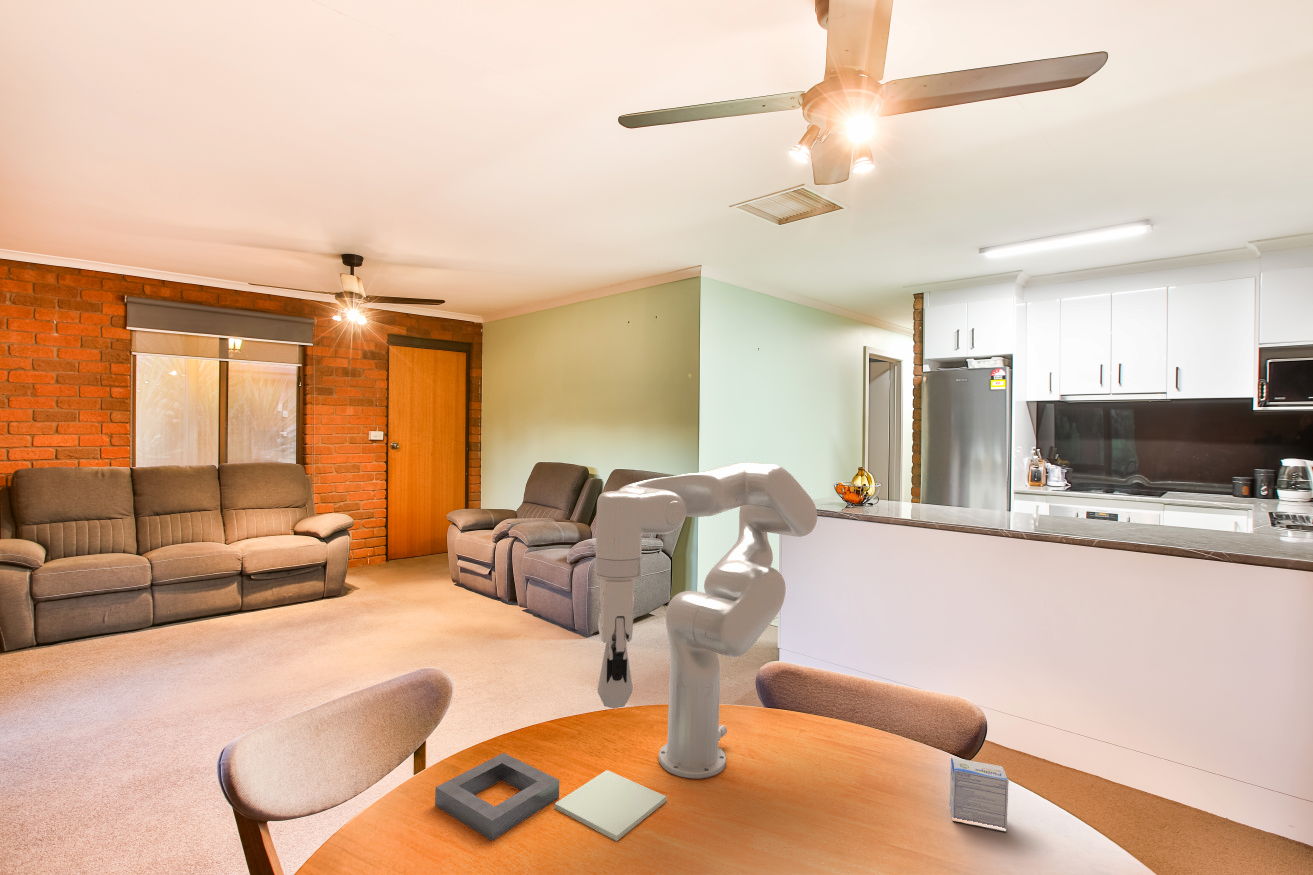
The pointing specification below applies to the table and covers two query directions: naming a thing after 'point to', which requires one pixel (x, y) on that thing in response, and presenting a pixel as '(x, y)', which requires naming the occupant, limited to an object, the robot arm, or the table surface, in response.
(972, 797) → the medicine box
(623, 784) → the mat
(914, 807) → the table surface
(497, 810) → the grey square frame
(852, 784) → the table surface
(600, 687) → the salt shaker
